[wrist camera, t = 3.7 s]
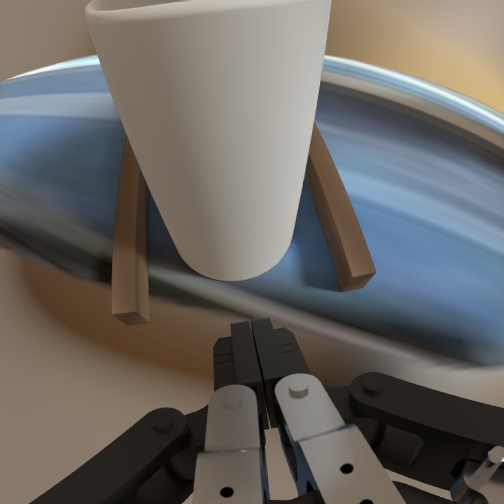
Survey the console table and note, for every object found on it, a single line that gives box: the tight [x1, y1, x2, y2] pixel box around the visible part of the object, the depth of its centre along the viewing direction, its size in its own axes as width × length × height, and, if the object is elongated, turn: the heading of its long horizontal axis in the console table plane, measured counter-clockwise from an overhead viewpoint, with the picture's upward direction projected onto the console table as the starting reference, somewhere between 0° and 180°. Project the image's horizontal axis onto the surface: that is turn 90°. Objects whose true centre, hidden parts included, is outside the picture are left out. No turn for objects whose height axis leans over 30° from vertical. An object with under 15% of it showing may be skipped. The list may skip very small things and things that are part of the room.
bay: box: [112, 122, 376, 325], centre depth 22 cm, size 15×24×3 cm, turn 9°
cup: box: [85, 0, 331, 281], centre depth 14 cm, size 8×8×16 cm
